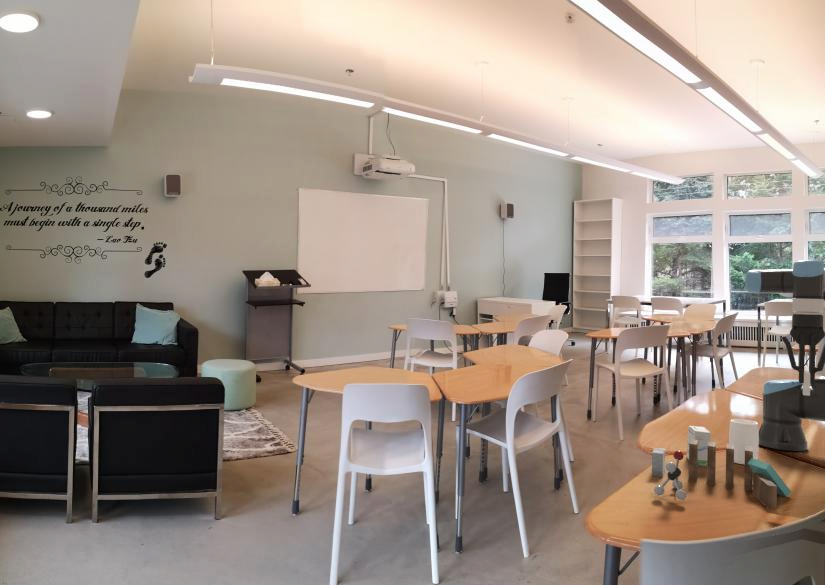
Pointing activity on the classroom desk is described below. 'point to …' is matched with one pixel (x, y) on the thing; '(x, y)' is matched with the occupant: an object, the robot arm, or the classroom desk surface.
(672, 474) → the molecular model
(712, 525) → the classroom desk surface
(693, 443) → the domino
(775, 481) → the teal tile
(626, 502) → the classroom desk surface
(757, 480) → the domino
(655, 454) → the block
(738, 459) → the cup
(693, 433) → the ink box
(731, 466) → the domino
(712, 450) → the domino
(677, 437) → the classroom desk surface
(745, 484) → the domino
